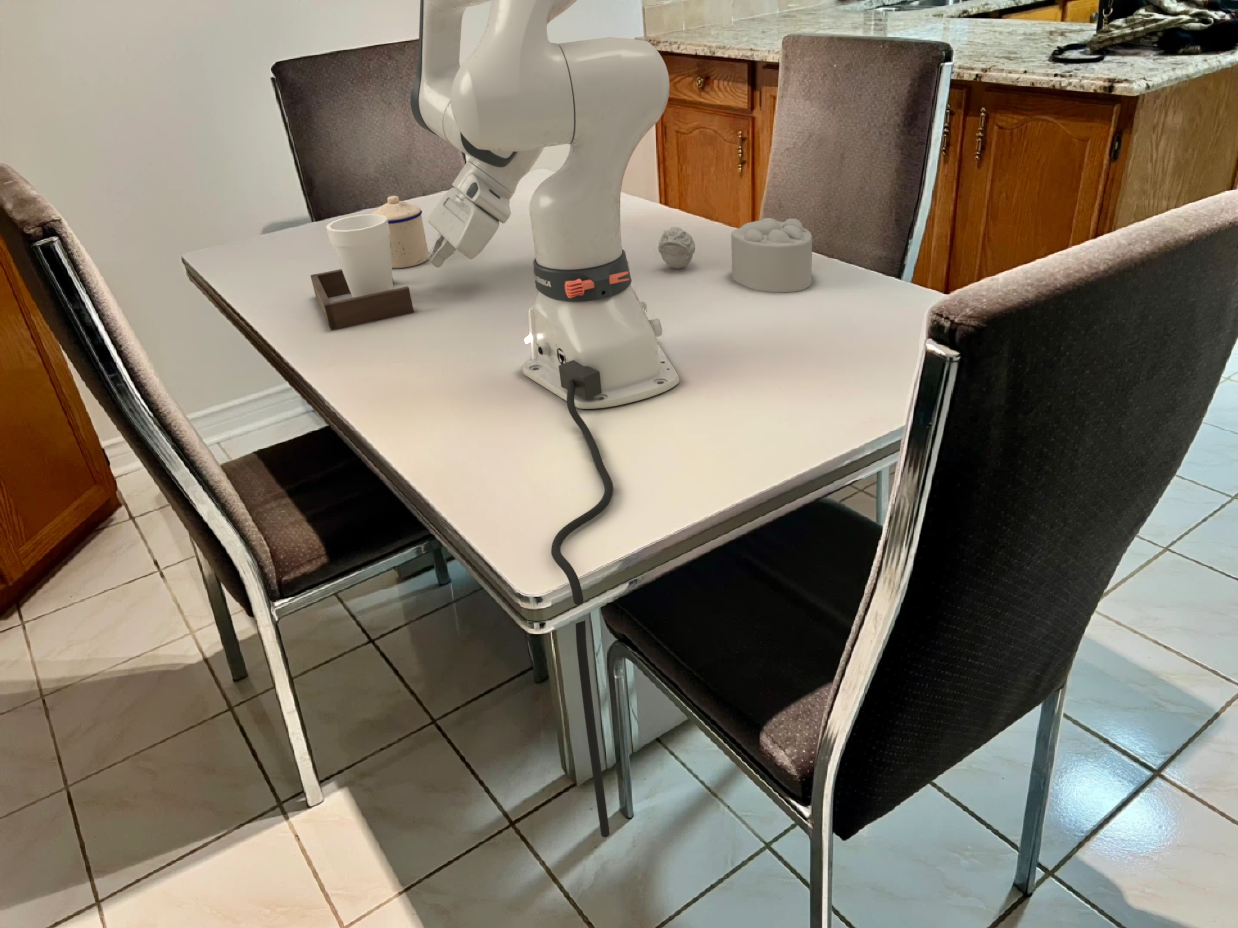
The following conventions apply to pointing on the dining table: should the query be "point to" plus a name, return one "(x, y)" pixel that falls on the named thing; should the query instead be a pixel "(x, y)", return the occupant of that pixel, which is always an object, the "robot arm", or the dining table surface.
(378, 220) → the foam cup
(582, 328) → the robot arm
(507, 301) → the dining table surface
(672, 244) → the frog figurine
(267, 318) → the dining table surface
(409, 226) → the teacup with lid
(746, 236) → the lumpy-topped squat cylinder
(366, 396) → the dining table surface
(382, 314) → the bay
